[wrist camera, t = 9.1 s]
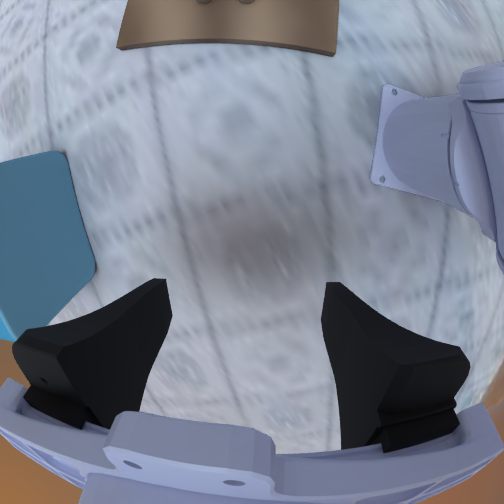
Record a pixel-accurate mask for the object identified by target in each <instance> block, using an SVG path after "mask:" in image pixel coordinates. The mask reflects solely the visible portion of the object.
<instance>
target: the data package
mask: <svg viewBox="0 0 504 504" xmlns="http://www.w3.org/2000/svg"><path fill="white" fill-rule="evenodd" d="M94 272H95V260H94V256H93V253H92V250H91V247H90V244H89V241H88V238H87V235H86V232H85V229H84V225H83V222H82V218H81V215H80V211H79V208H78V204H77V200H76V196H75V192H74V188H73V184H72V179H71V175H70V170H69V165H68V162H67V160H66V158H65V156H64V155H63V154H62V153H61V152H59V151H49V152H44V153H39V154H34V155H30V156H25V157H21V158H17V159H13V160H9V161H5V162H1V163H0V339H3V340H8V341H13V342H15V341H16V340H17V339H18V338H19V337H20V336H21V335H22V334H23V332H24V331H25V330H27V329H31V328H38V327H45V326H47V325H48V324H49V323H50V321H51V320H52V319H53V318H54V317H55V316H56V315H57V314H58V313H59V312H60V311H61V310H62V309H63V308H64V306H65V305H66V304H67V303H68V302H69V301H70V300H71V299H72V298H73V297H74V296H75V295H76V294H77V293H78V292H79V291H80V290H81V289H82V288H83V287H84V286H85V285H86V284H87V283H88V282H89V281H90V280H91V279H92V278H93V276H94Z"/></svg>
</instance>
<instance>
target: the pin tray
mask: <svg viewBox="0 0 504 504" xmlns="http://www.w3.org/2000/svg"><path fill="white" fill-rule="evenodd" d="M338 14H339V0H128V2H127V6H126V9H125V13H124V16H123V20H122V24H121V28H120V32H119V37H118V41H117V46H116V48H118V49H120V50H128V49H134V48H141V47H149V46H158V45H170V44H186V43H236V44H252V45H263V46H273V47H281V48H288V49H295V50H301V51H307V52H312V53H317V54H322V55H327V56H331V57H333V56H334V55H335V53H336V45H337V31H338Z"/></svg>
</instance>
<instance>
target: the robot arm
mask: <svg viewBox="0 0 504 504" xmlns="http://www.w3.org/2000/svg"><path fill="white" fill-rule="evenodd" d="M392 89H394V90H395V91H396V95H393V94H392ZM457 89H458V91H459V93H460V94H453V95H445V96H438V97H431V98H424V97H421V96H419V95H416V94H414V93H411V92H409V91H406V90H404V89H401V88H398V87H395V86H393V85H390V84H385V85H383V86H382V92H381V103H380V112H379V120H378V128H377V135H376V142H375V149H374V155H373V161H372V167H371V173H370V181H371V182H372V183H373V184H376V185H380V186H385V187H389V188H393V189H397V190H401V191H405V192H409V193H413V194H416V195H420V196H424V197H427V198H431V199H434V200H438V201H441V202H444V203H446V204H448V205H450V206H452V207H454V208H456V209H458V210H460V211H462V212H464V213H465V214H467V215H469V216H471V217H473V218H475V219H476V220H477V221H478V222H479V224H480V226H481V228H482V233H483V234H484V235H485V236H487V237H489V238H490V239H492V240H493V241H495V242H496V257H497V262H498V265H499V267H500V269H501V271H502V273H503V274H504V61H502V62H497V63H492V64H488V65H484V66H480V67H476V68H473V69H470V70H467V71H464V72H463V73H462V76H461V79H460V82H459V83H458V84H457ZM381 176H384V181H383V182H380V181H379V178H380V177H381ZM171 319H172V310H171V305H170V300H169V294H168V288H167V283H166V279H156V278H154V279H152V280H149V281H148V282H146V283H144V284H142V285H141V286H139V287H137V288H136V289H134V290H132V291H131V292H129V293H128V294H126V295H124V296H123V297H121V298H119V299H117V300H115V301H114V302H112V303H110V304H108V305H107V306H105V307H103V308H101V309H98V310H96V311H94V312H92V313H89V314H87V315H84V316H81V317H79V318H76V319H73V320H70V321H67V322H63V323H59V324H55V325H51V326H45V327H38V328H31V329H27V330H25V331H24V332H23V334H22V335H21V336H20V337H19V338H18V339H17V340H16V341H15V342H14V344H13V346H12V352H13V355H14V358H15V360H16V362H17V364H18V365H19V367H20V369H21V370H22V372H23V373H24V375H25V376H26V378H27V380H28V381H29V382H30V384H31V386H30V387H29V389H27V388H26V387H25V386H23V385H22V384H20V383H18V382H16V381H14V380H13V379H11V378H8V379H7V380H6V381H5V382H4V384H3V385H2V387H1V388H0V434H1V435H2V436H4V437H5V439H7V440H8V441H9V442H10V443H11V444H12V445H13V446H14V447H15V448H17V449H18V450H19V451H21V452H22V453H24V454H25V455H26V456H28V457H29V458H31V459H32V460H34V461H35V462H37V463H38V464H40V465H42V466H43V467H45V468H46V469H48V470H50V471H51V472H53V473H55V474H56V475H58V476H60V477H62V478H63V479H65V480H67V481H69V482H70V483H72V484H74V485H76V486H78V487H80V488H82V489H83V492H82V495H81V498H80V500H79V503H78V504H414V503H416V502H419V501H422V500H424V499H427V498H429V497H431V496H434V495H436V494H438V493H440V492H442V491H444V490H447V489H449V488H451V487H453V486H455V485H457V484H459V483H461V482H463V481H465V480H467V479H468V478H470V477H471V476H473V475H474V474H475V473H476V472H478V471H479V470H480V469H482V468H483V467H484V466H485V465H487V464H488V463H489V462H490V461H492V460H493V459H494V458H495V457H496V456H497V455H499V454H500V453H501V452H502V451H503V450H504V445H503V443H502V441H501V438H500V436H499V434H498V432H497V430H496V428H495V425H494V423H493V421H492V419H491V417H490V416H489V414H488V412H487V410H486V408H485V406H484V404H483V403H479V404H477V405H474V406H472V407H469V408H467V409H464V410H462V411H461V412H459V413H458V414H457V415H456V413H455V411H454V408H455V407H456V404H457V403H456V401H455V399H454V396H455V395H456V394H457V392H458V391H459V389H460V388H461V386H462V385H463V383H464V382H465V380H466V378H467V376H468V374H469V370H470V362H469V361H468V359H467V357H466V356H465V354H464V353H463V351H462V350H461V348H460V347H458V346H454V345H450V344H446V343H442V342H438V341H435V340H432V339H429V338H426V337H423V336H421V335H418V334H416V333H414V332H412V331H409V330H407V329H405V328H403V327H401V326H399V325H397V324H396V323H394V322H392V321H391V320H389V319H387V318H386V317H384V316H383V315H381V314H380V313H378V312H377V311H375V310H374V309H373V308H371V307H370V306H369V305H367V304H366V303H365V302H364V301H362V300H361V299H360V298H359V297H357V296H356V295H355V294H354V293H353V292H351V291H350V290H349V289H348V288H347V287H345V286H344V285H343V284H342V283H340V282H326V290H325V297H324V303H323V310H322V316H321V324H322V331H323V338H324V341H325V345H326V349H327V352H328V356H329V359H330V363H331V366H332V370H333V374H334V378H335V382H336V389H337V396H338V405H339V415H340V429H341V450H336V451H327V452H316V453H300V454H275V444H274V442H273V440H272V438H271V437H270V436H268V435H267V434H264V433H262V432H260V431H258V430H256V429H254V428H249V427H243V426H237V425H230V424H218V423H207V422H199V421H191V420H184V419H177V418H171V417H165V416H160V415H154V414H149V413H145V412H139V410H140V405H141V401H142V397H143V393H144V390H145V386H146V383H147V379H148V376H149V373H150V371H151V368H152V366H153V364H154V361H155V359H156V357H157V355H158V353H159V350H160V348H161V346H162V344H163V342H164V339H165V337H166V335H167V333H168V329H169V326H170V323H171Z"/></svg>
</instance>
